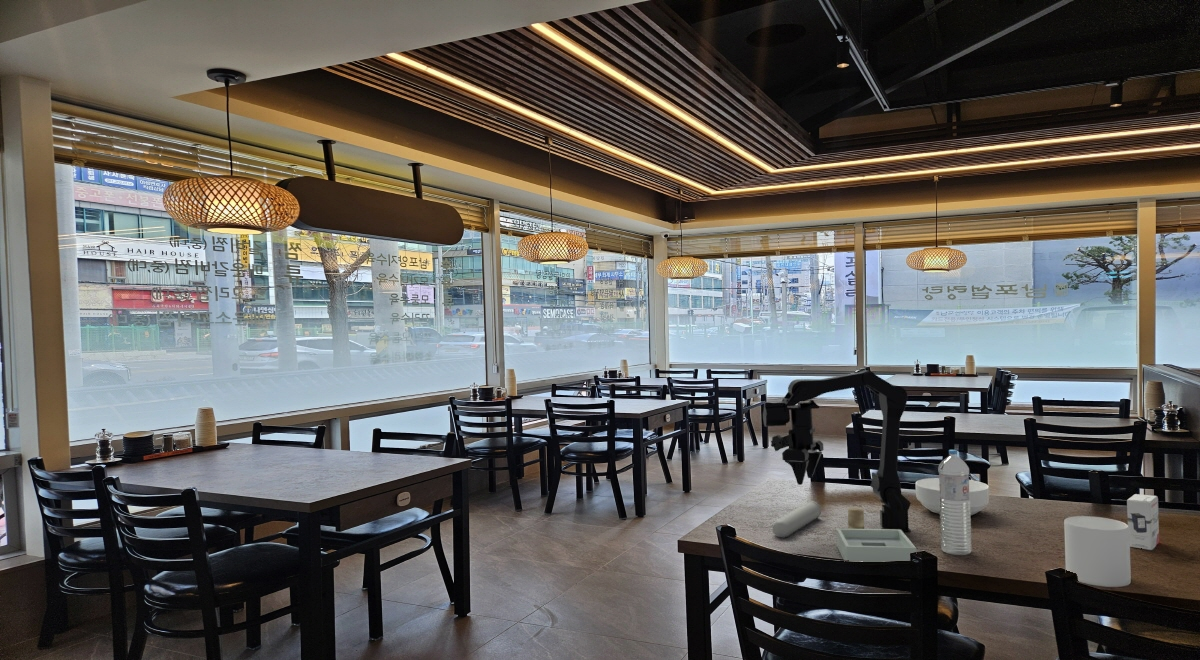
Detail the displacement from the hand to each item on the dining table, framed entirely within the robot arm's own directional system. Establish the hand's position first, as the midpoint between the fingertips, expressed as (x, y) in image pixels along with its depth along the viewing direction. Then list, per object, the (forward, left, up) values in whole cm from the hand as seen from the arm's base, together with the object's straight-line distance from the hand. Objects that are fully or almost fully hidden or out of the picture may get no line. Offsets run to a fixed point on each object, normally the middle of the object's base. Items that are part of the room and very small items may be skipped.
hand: (805, 481), depth 204 cm
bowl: (-44, -22, -14) cm, 51 cm away
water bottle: (-34, +17, -14) cm, 41 cm away
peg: (-12, +8, -14) cm, 20 cm away
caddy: (-14, +22, -14) cm, 30 cm away
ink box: (-80, +8, -14) cm, 82 cm away
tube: (+2, -3, -14) cm, 15 cm away
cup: (-58, +34, -14) cm, 69 cm away
